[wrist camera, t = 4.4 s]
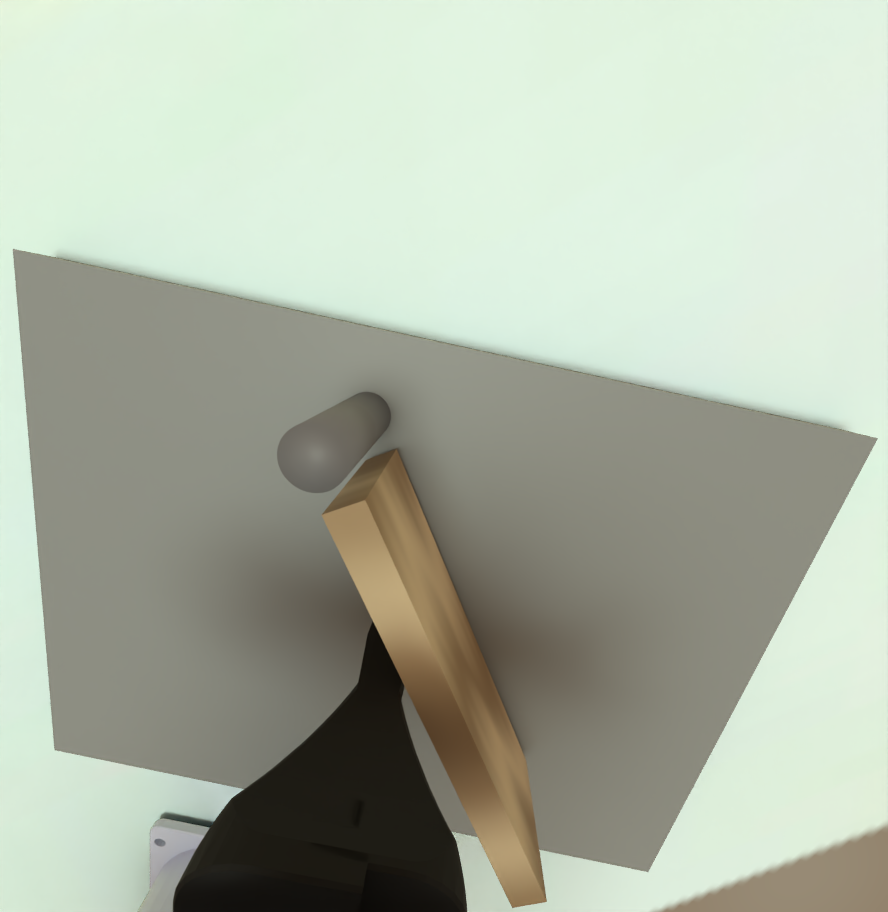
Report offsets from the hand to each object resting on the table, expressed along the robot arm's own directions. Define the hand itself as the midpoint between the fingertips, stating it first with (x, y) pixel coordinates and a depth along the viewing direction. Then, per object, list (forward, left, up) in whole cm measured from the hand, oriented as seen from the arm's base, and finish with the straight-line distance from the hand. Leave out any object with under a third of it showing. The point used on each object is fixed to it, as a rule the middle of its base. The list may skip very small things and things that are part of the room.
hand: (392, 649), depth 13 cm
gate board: (0, 0, -3) cm, 3 cm away
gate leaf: (0, -2, -1) cm, 2 cm away
